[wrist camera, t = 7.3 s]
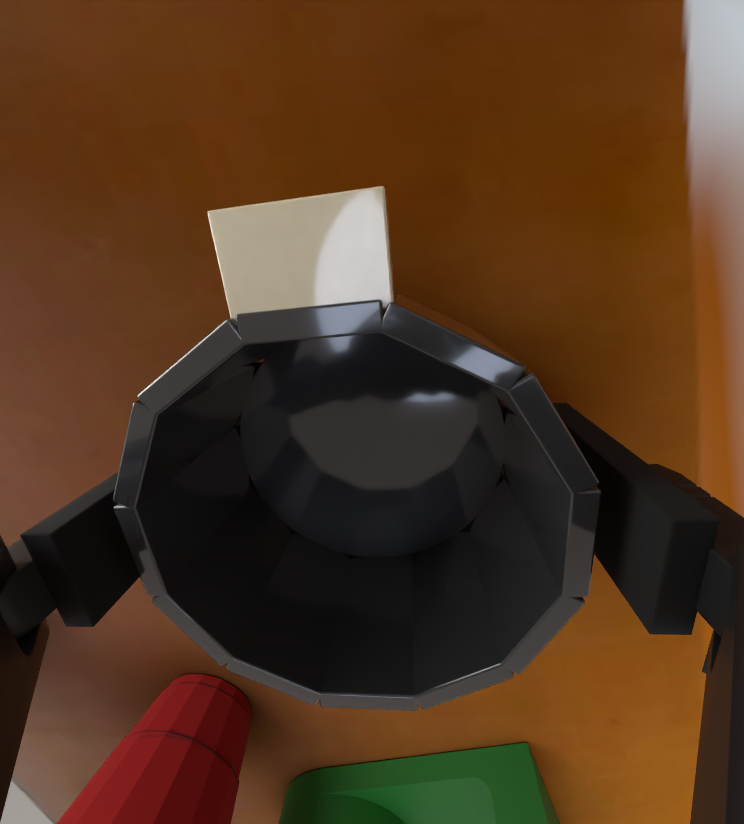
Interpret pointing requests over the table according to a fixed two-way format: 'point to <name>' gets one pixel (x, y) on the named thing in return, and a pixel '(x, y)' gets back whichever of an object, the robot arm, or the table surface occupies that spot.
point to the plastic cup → (173, 760)
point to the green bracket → (425, 791)
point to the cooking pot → (352, 477)
